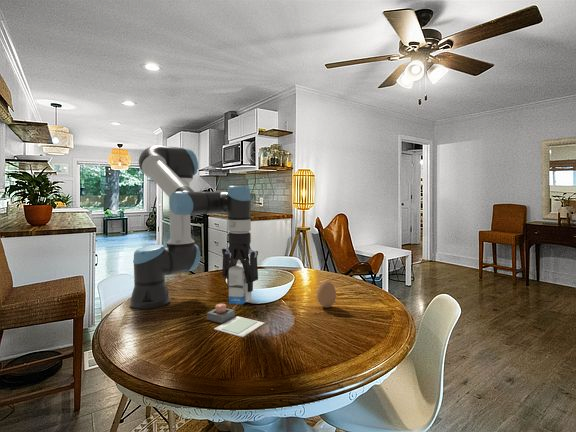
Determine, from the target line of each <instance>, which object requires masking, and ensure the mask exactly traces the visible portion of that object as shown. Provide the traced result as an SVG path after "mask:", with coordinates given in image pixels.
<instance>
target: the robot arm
mask: <svg viewBox="0 0 576 432" xmlns="http://www.w3.org/2000/svg"><path fill="white" fill-rule="evenodd" d="M138 158H139V159H138V165H139V166H138V167H139V169H140V171H141V173H143V175H144V176H146V177H148V178H150V179H151V180H153V182H155V183H156V184H157V186H158V187H159V188H160V189H161V190H162V191H163V192H164V194H166V196H167V197H168V204H169V205H168V206H169V207H168V209H169V210H168V211H169V239H168V241H166V247H165V245H163V244H151V245H146V246H142V247H139V248H137V249H136V250H135V251H134V253H133V261H132V263H133V275H134V276H133V279H134V282H133V283H134V284H133V285H134V286H133V290H132V292H131V293H132V294H131V297H130V299H129V304H130V307H131V308H133V309H136V310H137V309H139V310H148V309H155V308H159V307H162V306H166V305H167V304H168V303H170V301H171V297H170V296H171V295H170V293H169V290H168V287H167V285H166V276H169V275H175V274H180V273H181V274H182V273H188V272H191V271H194V270H196V269H197V268H198V266H199V264H200V261H201V250H200V247H199V246H198V244H195V243H196V242H195V240H194V239H193V237H192V233H191V232H192V227H191V216H193V215H205V214H206V215H207V214H208V215H209V214H211V215H212V214H227V226H228V227H227V230H228V236H227V243H228V246H227V247H225V248H222V249H221V252H222V253H221V254H222V268H221V277H222V278H225V279H226V287H227V289H229V268H231V267H233V266H235V265H237V264H238V262H240V263H241V264H242V265H243V269H244V273H245V277H246V281H247V282H245V303H248V302H250V301H252V292H253V290H254V282H256V281H259V269H258V255H259V251H258V250H253V249H252V248H251V242H252V240H251V239H252V238H251V237H252V236H251V232H250V231H251V229H252V228H251V227H252V223H251V222H252V221H251V211H252V210H251V207H252V204H251V203H252V197H251V187H249V186H247V185H229V186H228V187H227V191H194V190H193V189H192V188H191V187H190V183H191V182H192V181H193V179H194V176H196V175H197V173H198V170H199V162H198V158H197V154H195V152H194V151H193V150H192V149H189V148H184V147H177V146H165V145H153V146H149V147H147V148H145V149H144V150H143V151H142V152H141V154H140V155H139V157H138Z"/></svg>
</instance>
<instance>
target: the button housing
mask: <svg viewBox="0 0 576 432" xmlns="http://www.w3.org/2000/svg"><path fill="white" fill-rule="evenodd" d="M235 313H236V311H235V309H231V308H227V307H226V313H224V314H217V313H216V308H214V309H212V310H210V311H207V312H206V319H207V320H208V321H212V322H216V323H220V324H224V323H225V322H227V321H229V320H231V319H233V318H235V317H236V316H235Z"/></svg>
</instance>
